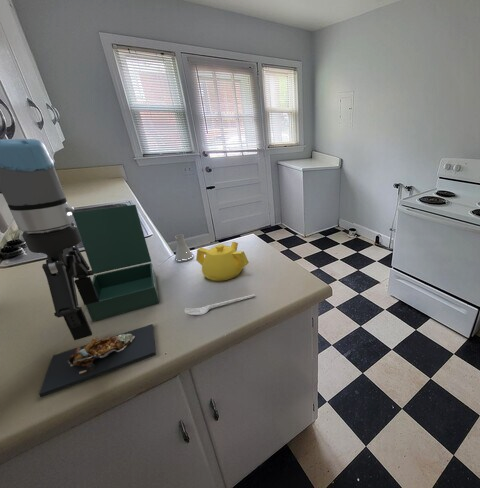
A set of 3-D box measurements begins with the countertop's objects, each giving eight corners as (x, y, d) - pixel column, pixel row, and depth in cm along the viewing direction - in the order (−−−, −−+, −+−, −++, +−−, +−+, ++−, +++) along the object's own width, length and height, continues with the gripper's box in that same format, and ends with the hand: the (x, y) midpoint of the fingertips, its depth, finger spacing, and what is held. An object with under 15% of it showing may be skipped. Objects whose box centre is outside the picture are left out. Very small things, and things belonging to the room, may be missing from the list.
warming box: (159, 302, 83) (154, 287, 81) (92, 321, 75) (85, 305, 73) (155, 276, 98) (151, 262, 95) (99, 289, 90) (93, 275, 87)
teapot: (261, 261, 108) (258, 235, 104) (240, 285, 92) (236, 256, 87) (215, 257, 112) (211, 232, 107) (187, 280, 95) (180, 251, 91)
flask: (195, 259, 110) (190, 236, 106) (176, 264, 106) (170, 240, 103) (192, 253, 116) (187, 231, 112) (173, 257, 112) (168, 235, 108)
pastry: (139, 340, 67) (135, 328, 66) (81, 376, 57) (75, 364, 56) (123, 331, 70) (119, 320, 69) (65, 364, 60) (59, 352, 59)
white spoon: (256, 299, 84) (256, 294, 83) (186, 319, 76) (184, 313, 75) (254, 294, 87) (253, 289, 86) (185, 312, 78) (184, 307, 77)
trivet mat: (40, 397, 54) (38, 394, 53) (54, 357, 63) (53, 355, 63) (155, 354, 64) (154, 352, 63) (153, 326, 73) (152, 323, 73)
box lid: (135, 204, 90) (135, 204, 90) (71, 212, 82) (72, 212, 82) (151, 261, 95) (151, 261, 96) (93, 274, 87) (93, 273, 88)
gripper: (62, 245, 43) (104, 347, 51) (84, 208, 62) (112, 287, 71) (-7, 256, 39) (51, 364, 48) (40, 213, 58) (75, 295, 67)
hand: (88, 318), depth 59 cm, fingers open, 13 cm apart
